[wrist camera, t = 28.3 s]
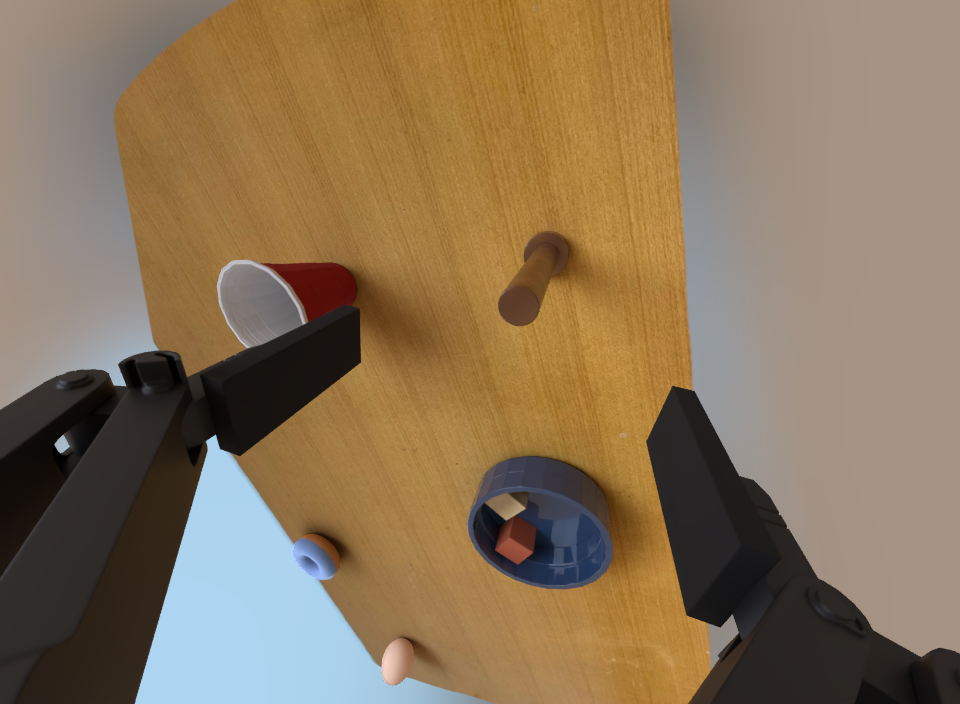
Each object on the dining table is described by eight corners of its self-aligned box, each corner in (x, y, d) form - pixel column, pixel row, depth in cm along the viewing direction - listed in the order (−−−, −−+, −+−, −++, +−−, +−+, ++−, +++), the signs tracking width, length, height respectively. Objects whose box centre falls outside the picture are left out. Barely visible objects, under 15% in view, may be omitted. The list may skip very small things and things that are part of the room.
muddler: (577, 259, 35) (573, 318, 19) (540, 283, 37) (509, 354, 21) (553, 221, 34) (528, 251, 18) (517, 248, 36) (466, 295, 20)
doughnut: (298, 545, 73) (282, 566, 69) (308, 520, 68) (290, 541, 64) (339, 569, 73) (325, 591, 69) (351, 546, 68) (337, 569, 64)
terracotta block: (536, 528, 52) (533, 552, 48) (522, 540, 54) (518, 565, 50) (514, 513, 52) (509, 537, 48) (500, 526, 54) (494, 550, 50)
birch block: (530, 485, 49) (526, 508, 45) (511, 497, 50) (506, 521, 47) (509, 467, 48) (503, 489, 45) (491, 480, 50) (484, 502, 47)
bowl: (628, 478, 44) (634, 517, 39) (588, 564, 53) (588, 606, 48) (488, 437, 48) (477, 468, 42) (471, 525, 56) (460, 560, 51)
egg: (424, 649, 78) (409, 694, 71) (401, 648, 81) (384, 692, 74) (410, 631, 76) (392, 675, 69) (387, 630, 79) (368, 673, 72)
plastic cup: (284, 252, 44) (190, 273, 33) (353, 231, 40) (272, 246, 30) (320, 332, 48) (246, 373, 37) (386, 318, 44) (325, 360, 33)
